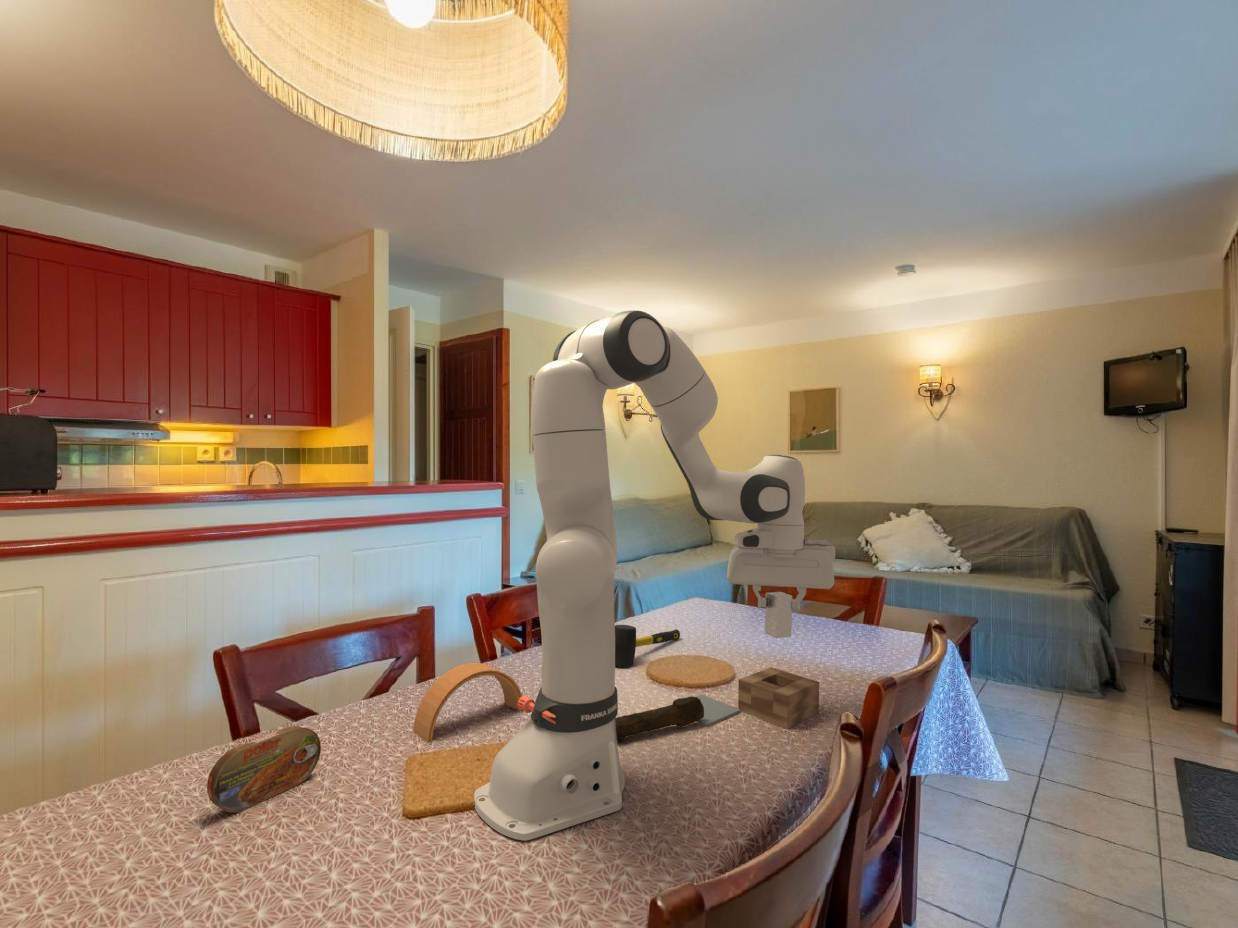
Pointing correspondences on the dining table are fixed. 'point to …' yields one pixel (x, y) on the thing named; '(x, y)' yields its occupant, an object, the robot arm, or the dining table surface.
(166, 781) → the dining table surface
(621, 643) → the mallet
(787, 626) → the gray rectangular block
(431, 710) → the arch
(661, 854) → the dining table surface
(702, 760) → the dining table surface
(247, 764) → the tin
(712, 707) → the pad
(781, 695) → the block with square hole
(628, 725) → the hand tool
